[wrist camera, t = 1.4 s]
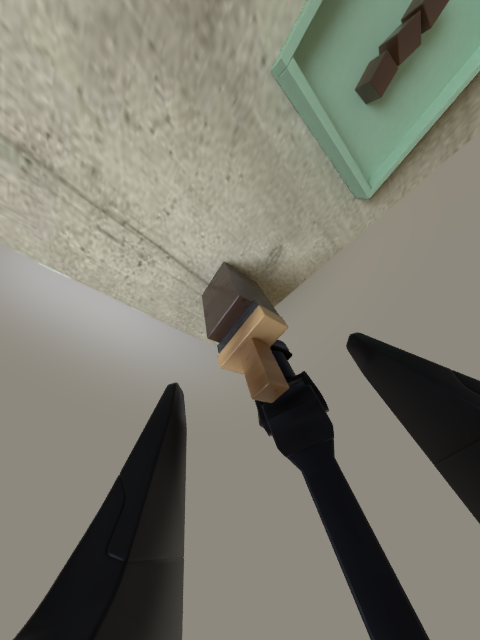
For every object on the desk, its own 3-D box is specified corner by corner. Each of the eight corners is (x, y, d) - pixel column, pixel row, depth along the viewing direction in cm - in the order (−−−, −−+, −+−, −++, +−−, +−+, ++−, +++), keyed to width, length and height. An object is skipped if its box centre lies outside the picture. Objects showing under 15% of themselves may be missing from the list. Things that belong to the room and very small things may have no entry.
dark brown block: (256, 282, 23) (281, 318, 17) (234, 311, 25) (249, 353, 19) (223, 261, 21) (239, 294, 14) (201, 295, 22) (206, 338, 16)
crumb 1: (380, 78, 14) (399, 68, 13) (365, 104, 15) (381, 97, 14) (369, 61, 14) (387, 49, 12) (354, 90, 14) (369, 81, 13)
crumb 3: (429, 11, 13) (454, -7, 12) (409, 42, 14) (431, 28, 12) (420, -15, 12) (447, -37, 11) (400, 20, 13) (422, 2, 12)
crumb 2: (401, 56, 14) (422, 43, 13) (381, 75, 14) (399, 65, 13) (398, 26, 13) (421, 8, 12) (377, 47, 13) (397, 33, 12)
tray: (487, 39, 15) (521, 23, 13) (355, 198, 20) (369, 199, 18) (456, -290, 8) (515, -395, 7) (270, 71, 13) (280, 57, 12)
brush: (254, 296, 15) (290, 357, 10) (276, 309, 16) (318, 368, 11) (215, 346, 17) (227, 416, 12) (237, 353, 18) (257, 420, 13)
